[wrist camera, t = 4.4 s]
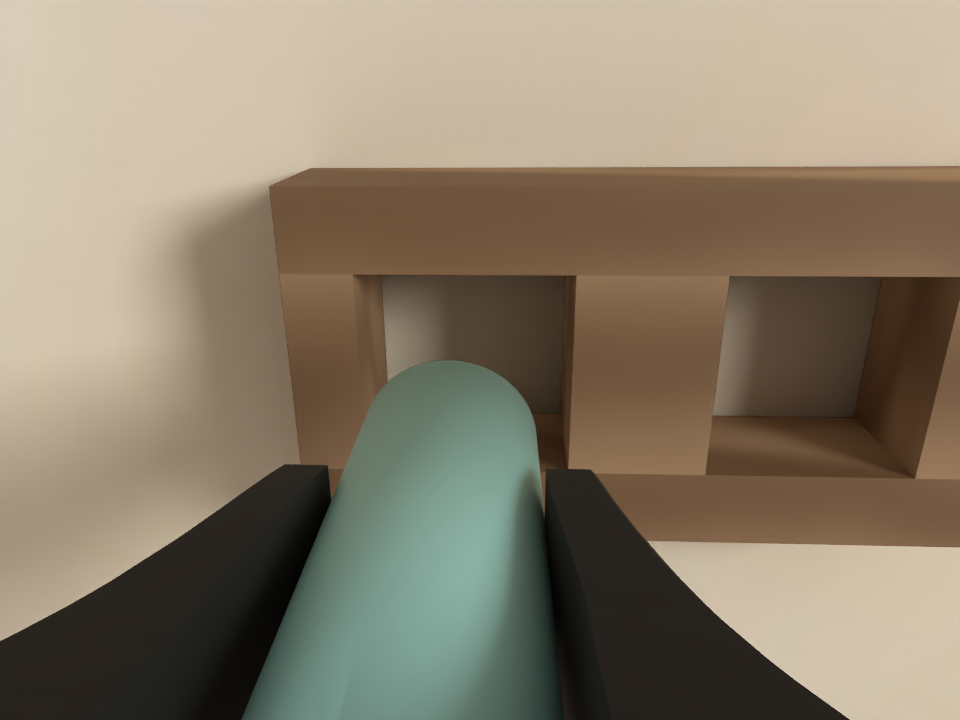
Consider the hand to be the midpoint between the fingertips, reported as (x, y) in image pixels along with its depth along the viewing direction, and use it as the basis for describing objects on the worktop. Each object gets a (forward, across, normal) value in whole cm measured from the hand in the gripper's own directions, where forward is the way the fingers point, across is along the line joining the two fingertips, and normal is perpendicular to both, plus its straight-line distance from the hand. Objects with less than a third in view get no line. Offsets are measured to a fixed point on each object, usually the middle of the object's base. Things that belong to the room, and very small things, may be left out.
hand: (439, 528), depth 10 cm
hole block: (+8, -4, 0) cm, 9 cm away
